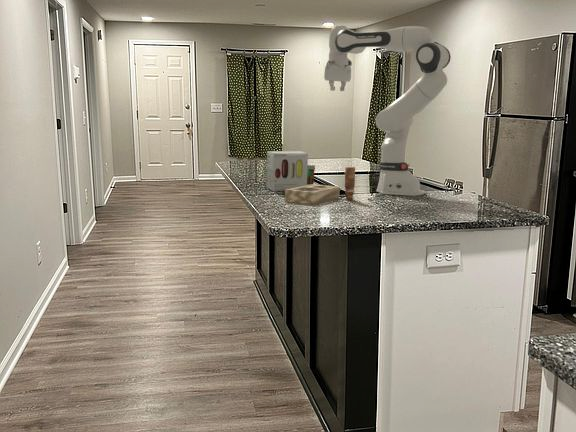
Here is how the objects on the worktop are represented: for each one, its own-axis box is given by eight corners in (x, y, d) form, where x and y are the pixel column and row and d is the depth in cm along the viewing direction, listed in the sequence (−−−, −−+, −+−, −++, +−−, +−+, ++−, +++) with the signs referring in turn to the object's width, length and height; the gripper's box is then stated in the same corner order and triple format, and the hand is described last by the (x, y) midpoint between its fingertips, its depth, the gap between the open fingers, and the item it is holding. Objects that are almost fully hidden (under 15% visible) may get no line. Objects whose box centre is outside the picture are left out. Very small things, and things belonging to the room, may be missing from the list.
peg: (355, 199, 254) (356, 167, 251) (351, 200, 251) (352, 168, 248) (347, 198, 256) (348, 166, 254) (342, 199, 253) (343, 167, 250)
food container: (293, 182, 309) (293, 163, 307) (304, 181, 311) (304, 163, 309) (304, 185, 298) (304, 165, 296) (314, 184, 300) (315, 165, 298)
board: (339, 197, 258) (339, 186, 257) (313, 204, 240) (313, 192, 239) (312, 195, 266) (312, 183, 265) (285, 201, 248) (285, 189, 247)
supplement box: (272, 191, 276) (273, 153, 272) (266, 187, 288) (266, 151, 285) (307, 190, 280) (308, 152, 277) (300, 186, 293) (300, 150, 290)
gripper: (332, 59, 272) (332, 90, 274) (353, 62, 289) (352, 91, 291) (321, 60, 275) (320, 90, 278) (342, 63, 292) (341, 91, 295)
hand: (337, 90), depth 285 cm, fingers open, 8 cm apart
